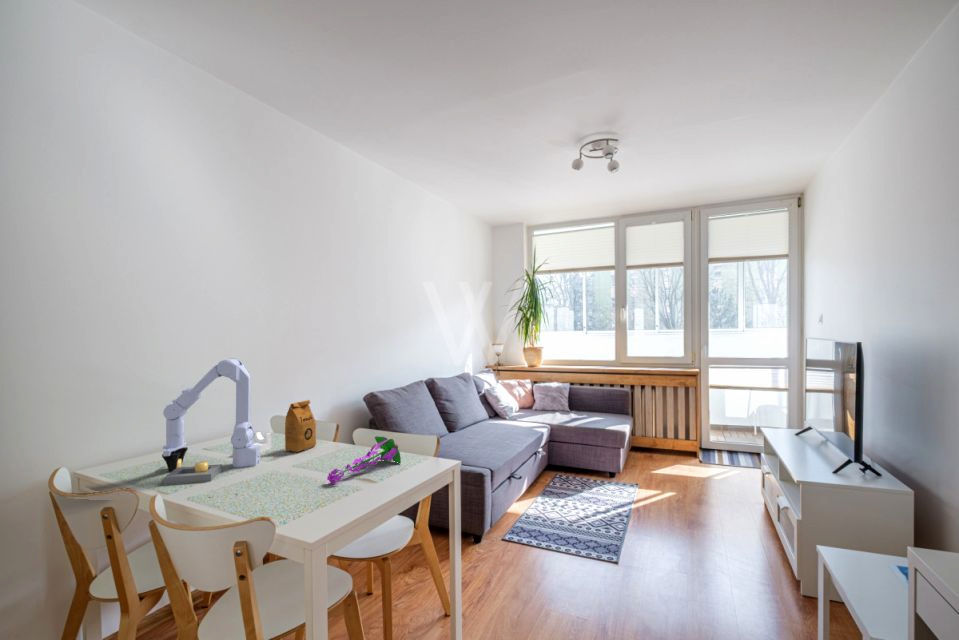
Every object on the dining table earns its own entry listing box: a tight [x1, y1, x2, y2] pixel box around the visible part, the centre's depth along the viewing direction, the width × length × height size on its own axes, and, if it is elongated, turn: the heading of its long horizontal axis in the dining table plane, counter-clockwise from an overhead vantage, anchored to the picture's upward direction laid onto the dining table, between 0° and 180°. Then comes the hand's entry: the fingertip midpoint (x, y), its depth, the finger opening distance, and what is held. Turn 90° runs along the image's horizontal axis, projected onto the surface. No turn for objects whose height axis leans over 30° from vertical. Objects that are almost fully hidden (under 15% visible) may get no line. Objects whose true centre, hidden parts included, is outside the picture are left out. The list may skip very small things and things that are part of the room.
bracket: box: [253, 431, 272, 453], centre depth 194 cm, size 13×7×8 cm, turn 162°
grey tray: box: [162, 463, 223, 486], centre depth 158 cm, size 15×11×4 cm
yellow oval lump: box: [177, 459, 183, 468], centre depth 167 cm, size 4×4×5 cm
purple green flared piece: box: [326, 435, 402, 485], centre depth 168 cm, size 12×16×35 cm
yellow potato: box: [194, 461, 209, 473], centre depth 159 cm, size 4×4×5 cm
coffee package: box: [284, 399, 317, 453], centre depth 198 cm, size 10×12×22 cm
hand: (175, 469), depth 167 cm, fingers open, 4 cm apart
